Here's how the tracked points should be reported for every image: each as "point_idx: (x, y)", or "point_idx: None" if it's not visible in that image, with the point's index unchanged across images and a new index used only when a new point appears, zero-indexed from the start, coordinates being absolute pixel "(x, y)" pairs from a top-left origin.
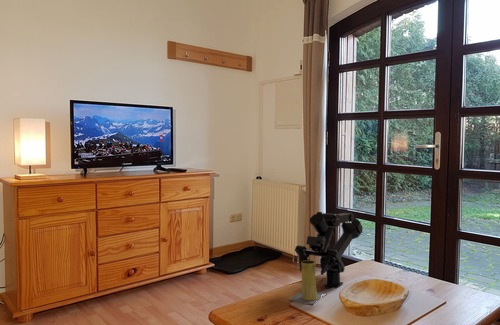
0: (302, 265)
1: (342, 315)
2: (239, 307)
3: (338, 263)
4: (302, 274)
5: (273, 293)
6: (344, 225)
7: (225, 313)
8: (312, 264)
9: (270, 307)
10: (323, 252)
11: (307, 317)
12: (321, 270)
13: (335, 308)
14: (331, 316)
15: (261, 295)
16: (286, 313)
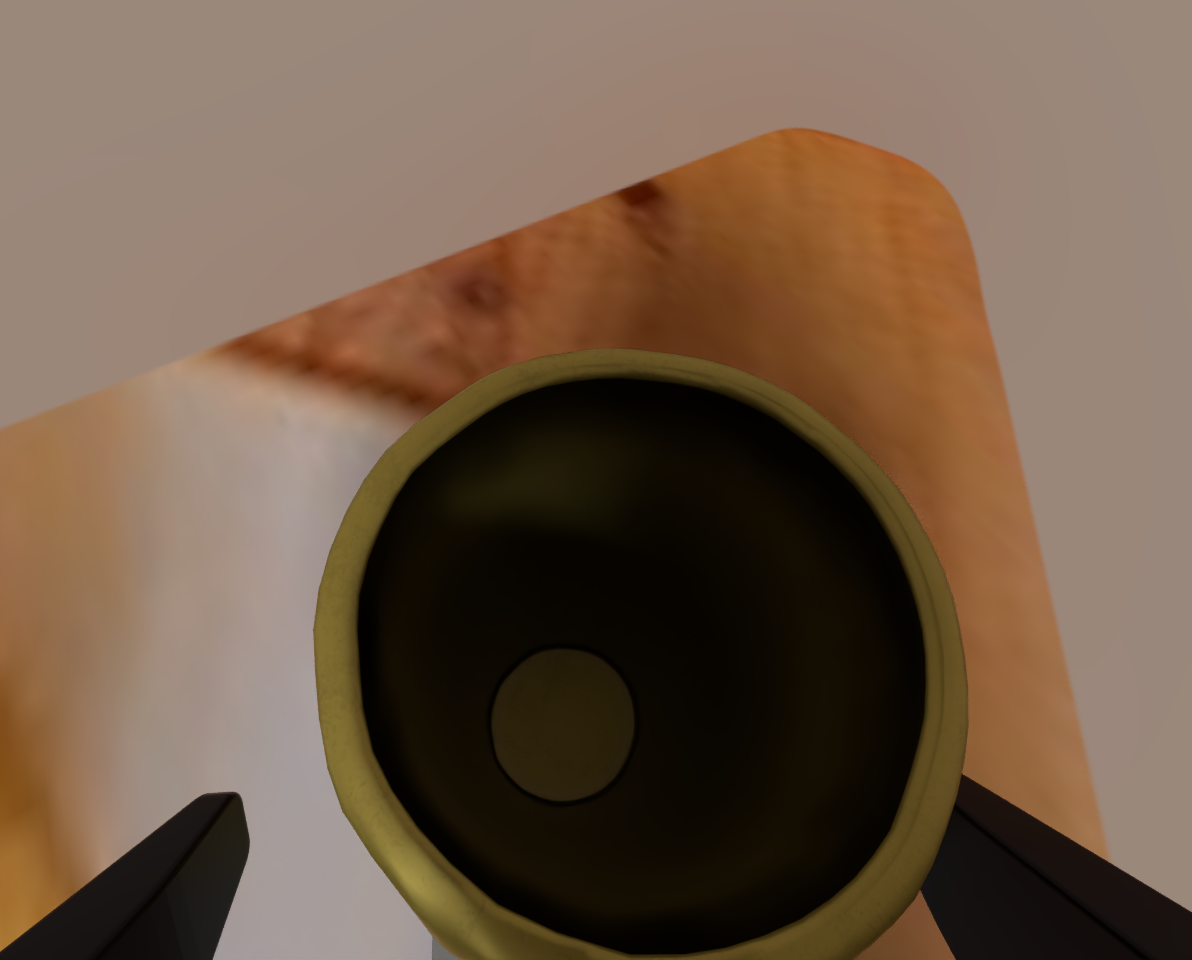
0: (732, 440)
1: (37, 517)
2: (897, 266)
3: None
4: (678, 555)
5: (996, 647)
6: None
7: (871, 178)
8: (366, 514)
9: (735, 357)
10: None
11: (362, 337)
12: (165, 864)
13: (154, 649)
14: (154, 444)
15: (1018, 530)
16: (554, 325)
